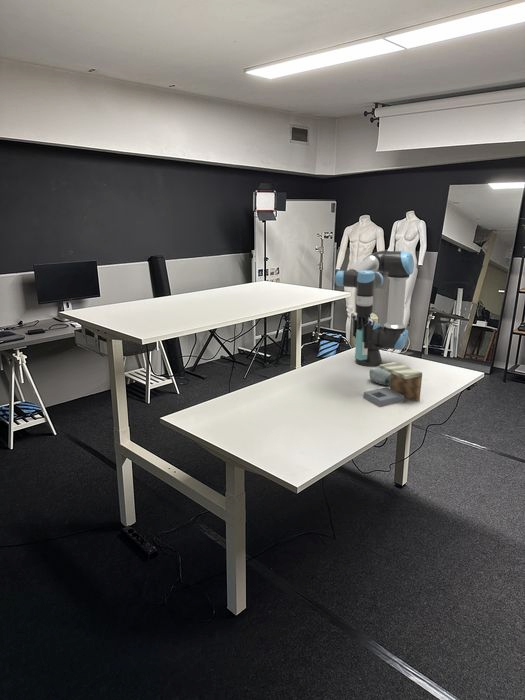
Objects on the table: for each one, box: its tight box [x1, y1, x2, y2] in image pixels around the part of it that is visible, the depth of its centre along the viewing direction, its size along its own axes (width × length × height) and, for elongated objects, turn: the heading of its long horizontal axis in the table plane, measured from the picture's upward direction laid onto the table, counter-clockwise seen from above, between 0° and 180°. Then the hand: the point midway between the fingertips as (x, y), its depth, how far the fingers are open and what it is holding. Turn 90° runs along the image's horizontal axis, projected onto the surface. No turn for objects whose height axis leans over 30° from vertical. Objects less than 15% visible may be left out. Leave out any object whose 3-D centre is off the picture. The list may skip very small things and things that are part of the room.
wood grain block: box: [378, 361, 423, 402], centre depth 225 cm, size 18×10×14 cm, turn 27°
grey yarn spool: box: [368, 366, 391, 386], centre depth 243 cm, size 14×10×10 cm
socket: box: [363, 386, 405, 408], centre depth 222 cm, size 12×14×3 cm
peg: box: [354, 329, 367, 360], centre depth 222 cm, size 4×4×14 cm
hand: (361, 353), depth 224 cm, fingers closed on peg, 4 cm apart
